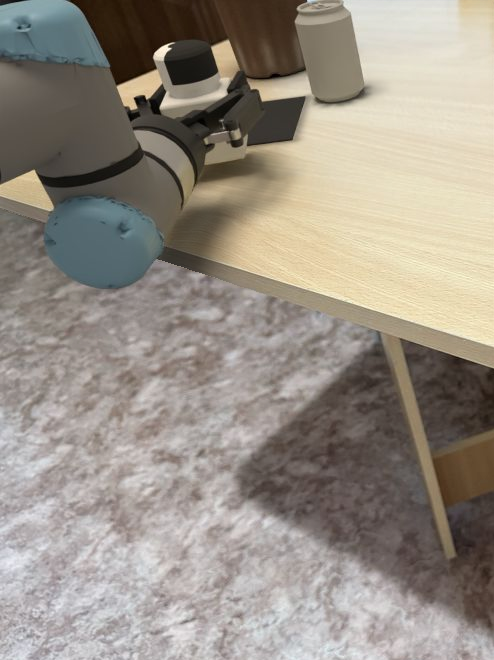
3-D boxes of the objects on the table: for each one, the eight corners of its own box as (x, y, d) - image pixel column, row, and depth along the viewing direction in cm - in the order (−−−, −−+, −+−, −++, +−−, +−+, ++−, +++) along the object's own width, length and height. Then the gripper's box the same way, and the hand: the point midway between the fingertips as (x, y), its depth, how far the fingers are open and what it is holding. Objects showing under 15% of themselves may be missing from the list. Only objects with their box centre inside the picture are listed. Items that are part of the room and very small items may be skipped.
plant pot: (349, 53, 114) (326, -59, 104) (287, 86, 103) (255, -34, 93) (273, 49, 121) (245, -56, 111) (208, 80, 110) (171, -33, 100)
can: (335, 107, 94) (314, 12, 86) (302, 99, 98) (279, 7, 91) (376, 90, 98) (359, -2, 90) (343, 82, 102) (324, -7, 95)
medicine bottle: (248, 136, 83) (216, 31, 76) (246, 159, 78) (210, 47, 70) (189, 146, 83) (150, 41, 75) (182, 170, 77) (139, 59, 70)
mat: (149, 158, 86) (149, 157, 86) (181, 113, 99) (180, 112, 99) (292, 139, 86) (291, 138, 86) (305, 97, 99) (305, 96, 99)
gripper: (60, 219, 65) (133, 129, 83) (277, 192, 65) (304, 107, 83) (19, 143, 60) (106, 65, 78) (253, 113, 60) (287, 42, 78)
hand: (208, 87), depth 80 cm, fingers closed on medicine bottle, 8 cm apart
